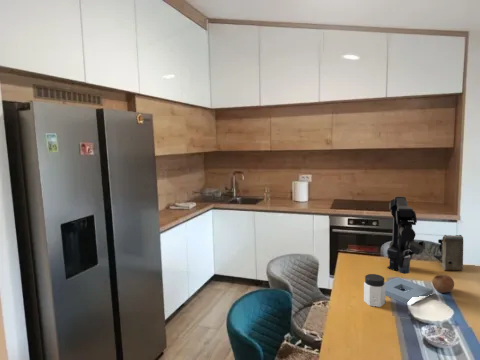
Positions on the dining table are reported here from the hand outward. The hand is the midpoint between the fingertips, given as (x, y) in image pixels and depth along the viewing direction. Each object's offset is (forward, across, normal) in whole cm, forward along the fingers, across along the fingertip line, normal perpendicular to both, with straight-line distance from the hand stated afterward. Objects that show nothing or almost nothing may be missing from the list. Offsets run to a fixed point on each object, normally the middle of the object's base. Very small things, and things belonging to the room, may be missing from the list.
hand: (404, 266), depth 160 cm
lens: (+2, 0, 0) cm, 3 cm away
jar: (+13, -19, +2) cm, 23 cm away
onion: (+13, +16, -10) cm, 23 cm away
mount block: (+13, 0, 0) cm, 13 cm away
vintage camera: (+13, +49, +5) cm, 51 cm away
